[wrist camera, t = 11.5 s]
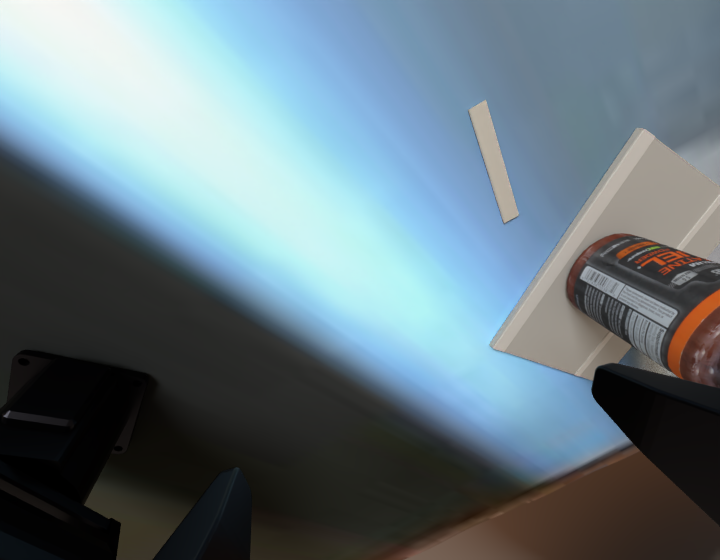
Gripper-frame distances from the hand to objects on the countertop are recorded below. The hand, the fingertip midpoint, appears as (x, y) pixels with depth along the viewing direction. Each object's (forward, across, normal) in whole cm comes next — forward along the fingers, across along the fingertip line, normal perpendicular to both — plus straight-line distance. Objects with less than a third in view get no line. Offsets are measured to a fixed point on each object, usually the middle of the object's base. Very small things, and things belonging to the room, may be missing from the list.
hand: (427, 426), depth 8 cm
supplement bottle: (+13, +17, -6) cm, 22 cm away
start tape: (+13, +9, +3) cm, 16 cm away
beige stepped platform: (+13, +18, -7) cm, 24 cm away
